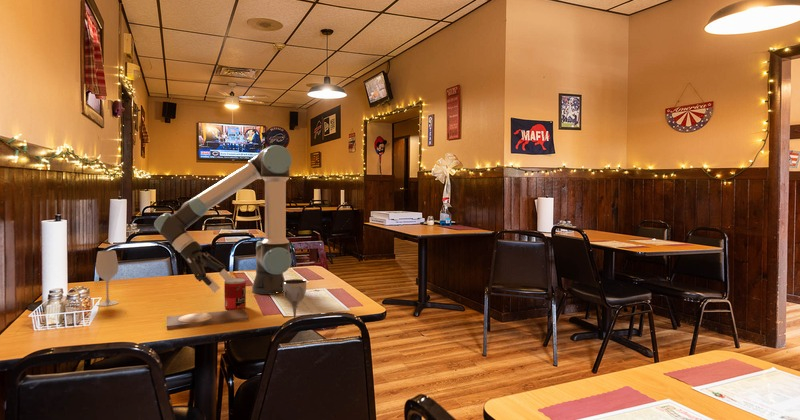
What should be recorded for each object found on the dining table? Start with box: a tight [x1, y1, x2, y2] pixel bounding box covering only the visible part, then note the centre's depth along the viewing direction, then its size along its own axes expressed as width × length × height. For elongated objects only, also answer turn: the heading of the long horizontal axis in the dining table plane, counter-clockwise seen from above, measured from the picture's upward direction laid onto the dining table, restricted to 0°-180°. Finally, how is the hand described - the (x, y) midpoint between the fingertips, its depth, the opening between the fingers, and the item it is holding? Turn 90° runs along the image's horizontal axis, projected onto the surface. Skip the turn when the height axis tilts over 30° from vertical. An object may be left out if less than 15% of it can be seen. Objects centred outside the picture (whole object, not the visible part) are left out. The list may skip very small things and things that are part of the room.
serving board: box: [166, 308, 249, 330], centre depth 168 cm, size 26×12×2 cm, turn 116°
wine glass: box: [283, 278, 307, 319], centre depth 165 cm, size 8×8×15 cm
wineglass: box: [95, 249, 119, 307], centre depth 188 cm, size 8×8×21 cm
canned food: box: [223, 277, 247, 311], centre depth 185 cm, size 8×8×11 cm
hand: (225, 286), depth 184 cm, fingers open, 13 cm apart
